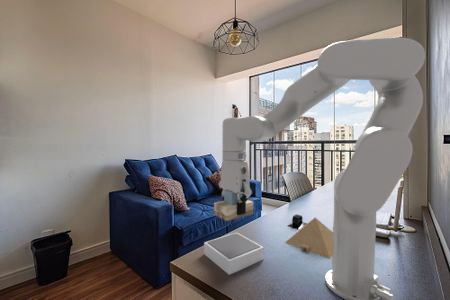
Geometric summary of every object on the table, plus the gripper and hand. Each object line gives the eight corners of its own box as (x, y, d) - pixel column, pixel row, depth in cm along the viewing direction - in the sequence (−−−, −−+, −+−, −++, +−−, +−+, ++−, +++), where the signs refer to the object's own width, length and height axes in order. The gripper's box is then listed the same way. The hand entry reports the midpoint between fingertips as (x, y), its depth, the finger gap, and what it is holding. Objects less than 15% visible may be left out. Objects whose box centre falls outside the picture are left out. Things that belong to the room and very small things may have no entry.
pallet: (253, 213, 73) (253, 201, 72) (226, 221, 66) (226, 207, 66) (240, 208, 78) (240, 197, 78) (214, 214, 72) (214, 202, 71)
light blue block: (243, 202, 72) (243, 190, 71) (231, 205, 69) (231, 192, 69) (236, 199, 75) (236, 188, 75) (224, 202, 72) (224, 190, 72)
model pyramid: (282, 244, 82) (283, 218, 82) (302, 230, 95) (302, 207, 95) (330, 261, 71) (330, 231, 71) (344, 242, 84) (345, 216, 83)
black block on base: (298, 232, 93) (298, 221, 93) (282, 227, 98) (283, 217, 98) (310, 224, 102) (311, 214, 102) (296, 220, 107) (296, 211, 107)
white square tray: (263, 259, 71) (263, 246, 71) (229, 274, 63) (229, 260, 63) (236, 242, 83) (236, 231, 82) (204, 254, 74) (204, 241, 74)
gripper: (261, 158, 66) (261, 216, 67) (227, 154, 80) (227, 202, 81) (242, 159, 62) (242, 221, 63) (209, 155, 76) (209, 206, 77)
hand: (233, 210), depth 72 cm, fingers closed on pallet, 6 cm apart
